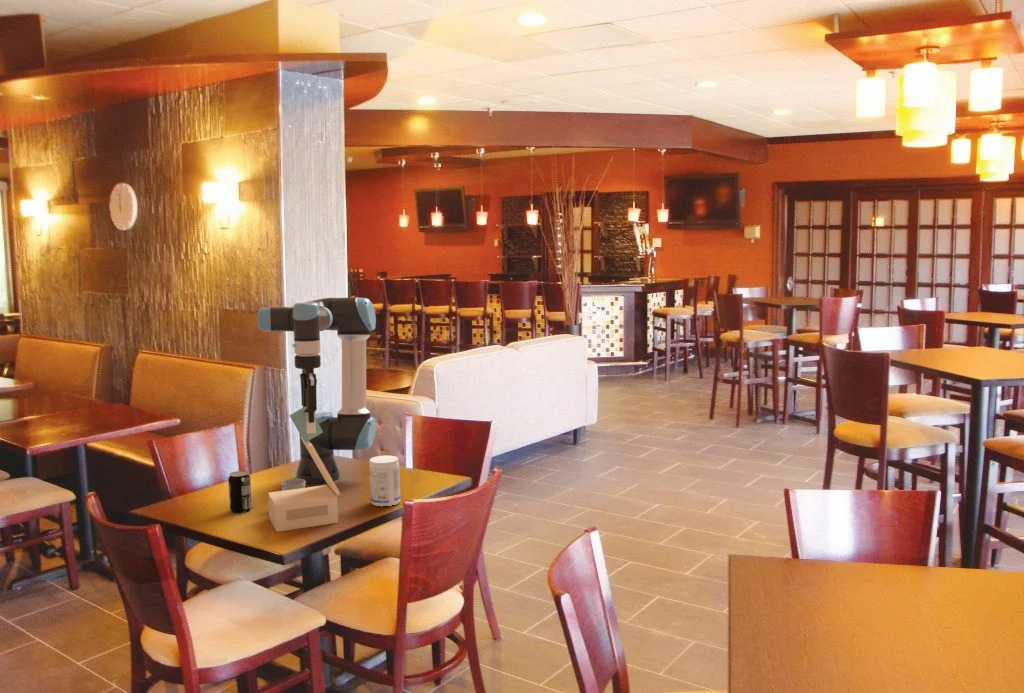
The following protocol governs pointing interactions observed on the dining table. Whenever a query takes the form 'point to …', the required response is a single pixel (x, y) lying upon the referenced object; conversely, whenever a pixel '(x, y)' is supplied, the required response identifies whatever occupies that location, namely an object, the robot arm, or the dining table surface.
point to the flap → (300, 424)
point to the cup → (292, 484)
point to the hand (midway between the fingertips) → (309, 431)
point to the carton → (302, 508)
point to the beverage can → (240, 491)
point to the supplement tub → (384, 480)
